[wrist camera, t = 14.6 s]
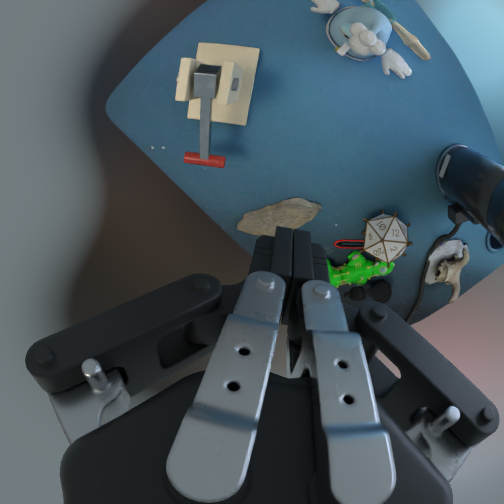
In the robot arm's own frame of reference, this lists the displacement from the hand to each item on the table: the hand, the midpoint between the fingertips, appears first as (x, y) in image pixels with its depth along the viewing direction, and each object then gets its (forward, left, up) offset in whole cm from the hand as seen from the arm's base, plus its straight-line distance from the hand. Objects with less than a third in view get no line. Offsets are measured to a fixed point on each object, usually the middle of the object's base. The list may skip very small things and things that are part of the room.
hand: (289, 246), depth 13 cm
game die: (-18, -12, -29) cm, 37 cm away
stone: (-9, +3, -28) cm, 30 cm away
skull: (-30, -25, -29) cm, 49 cm away
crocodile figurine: (-25, -4, -29) cm, 38 cm away
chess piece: (-31, -11, -27) cm, 43 cm away
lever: (+6, +6, -22) cm, 23 cm away
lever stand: (+10, +4, -29) cm, 31 cm away
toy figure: (+11, -15, -29) cm, 35 cm away
